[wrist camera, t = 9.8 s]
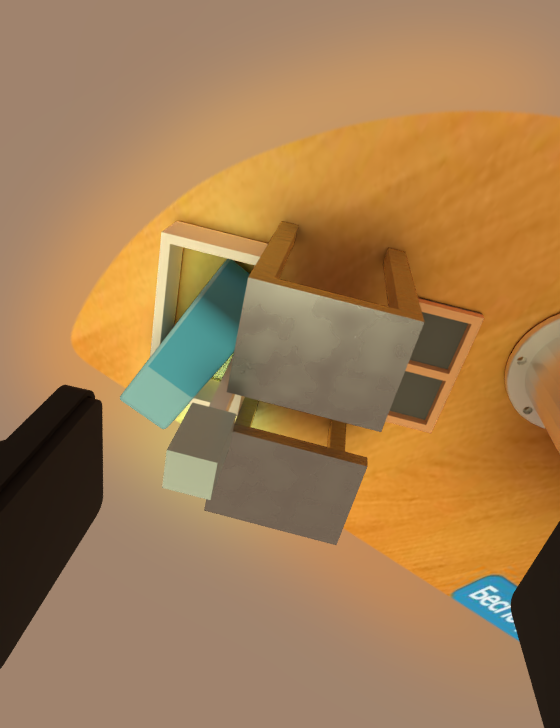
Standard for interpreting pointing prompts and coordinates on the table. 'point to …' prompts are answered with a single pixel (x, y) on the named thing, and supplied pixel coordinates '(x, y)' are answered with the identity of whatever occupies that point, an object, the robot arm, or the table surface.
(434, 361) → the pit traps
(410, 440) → the table surface
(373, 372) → the tunnel
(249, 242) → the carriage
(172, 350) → the data package
